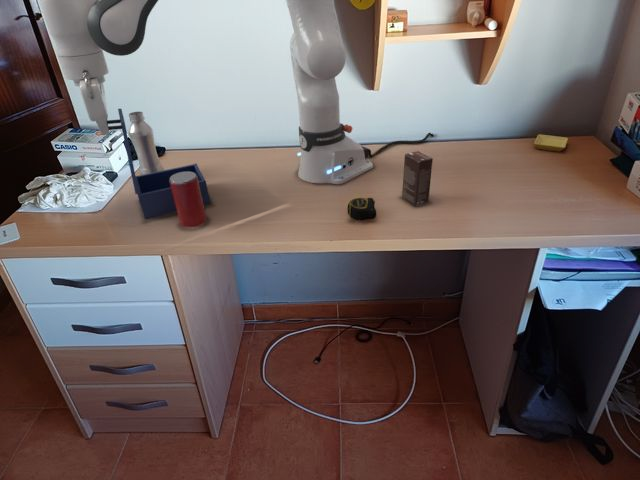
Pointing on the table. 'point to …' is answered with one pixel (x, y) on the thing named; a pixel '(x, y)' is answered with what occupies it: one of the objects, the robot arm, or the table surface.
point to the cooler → (164, 190)
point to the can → (188, 199)
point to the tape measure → (362, 209)
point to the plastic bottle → (144, 144)
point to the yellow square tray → (550, 142)
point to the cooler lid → (125, 144)
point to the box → (417, 178)
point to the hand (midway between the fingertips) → (105, 129)
